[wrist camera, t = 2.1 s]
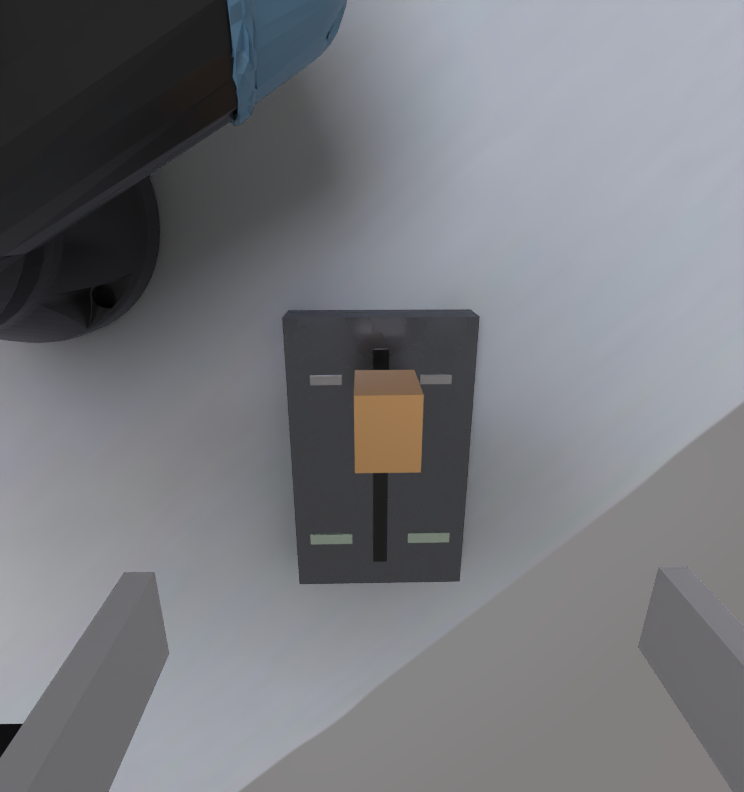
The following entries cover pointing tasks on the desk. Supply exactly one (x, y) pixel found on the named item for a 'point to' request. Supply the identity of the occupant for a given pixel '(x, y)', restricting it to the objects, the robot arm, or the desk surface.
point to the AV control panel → (335, 448)
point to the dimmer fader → (387, 421)
